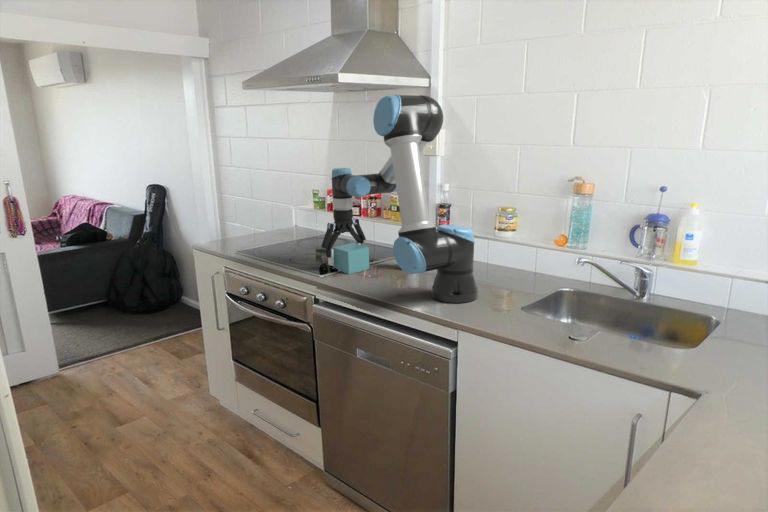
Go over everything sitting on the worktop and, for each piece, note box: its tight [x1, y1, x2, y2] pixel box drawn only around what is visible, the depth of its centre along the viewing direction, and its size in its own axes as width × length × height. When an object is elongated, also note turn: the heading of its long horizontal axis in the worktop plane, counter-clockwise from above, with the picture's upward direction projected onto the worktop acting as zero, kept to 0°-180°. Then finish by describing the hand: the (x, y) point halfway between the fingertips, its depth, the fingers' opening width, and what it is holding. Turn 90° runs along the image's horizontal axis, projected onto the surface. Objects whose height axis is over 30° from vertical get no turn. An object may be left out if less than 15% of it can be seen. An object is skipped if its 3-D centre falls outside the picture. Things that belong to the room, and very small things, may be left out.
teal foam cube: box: [331, 242, 370, 275], centre depth 202 cm, size 10×10×9 cm
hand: (344, 261), depth 206 cm, fingers open, 13 cm apart
